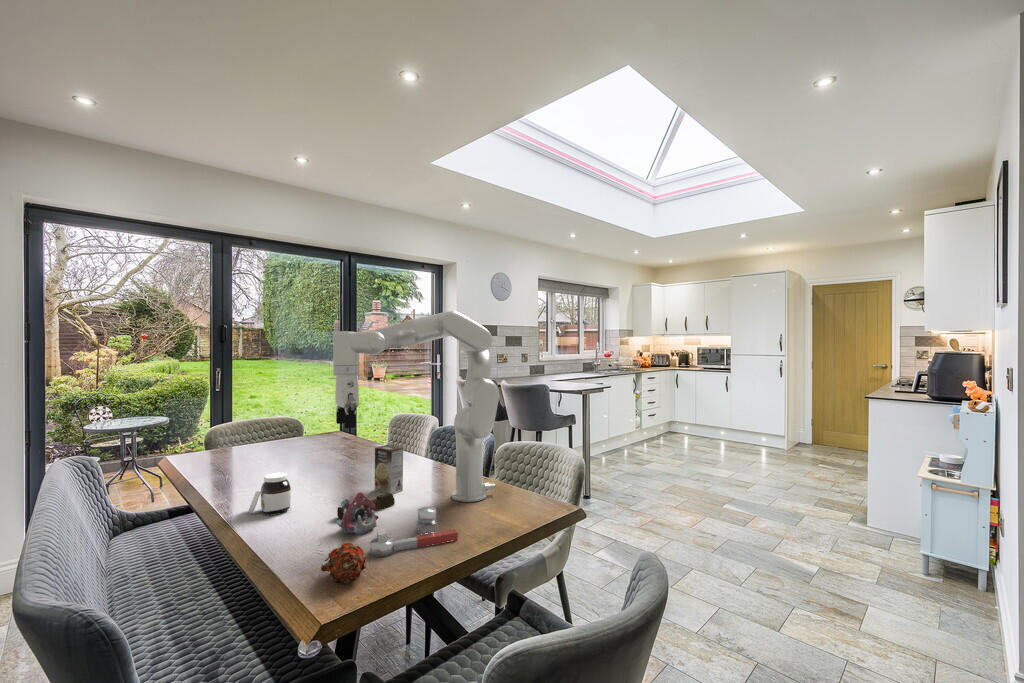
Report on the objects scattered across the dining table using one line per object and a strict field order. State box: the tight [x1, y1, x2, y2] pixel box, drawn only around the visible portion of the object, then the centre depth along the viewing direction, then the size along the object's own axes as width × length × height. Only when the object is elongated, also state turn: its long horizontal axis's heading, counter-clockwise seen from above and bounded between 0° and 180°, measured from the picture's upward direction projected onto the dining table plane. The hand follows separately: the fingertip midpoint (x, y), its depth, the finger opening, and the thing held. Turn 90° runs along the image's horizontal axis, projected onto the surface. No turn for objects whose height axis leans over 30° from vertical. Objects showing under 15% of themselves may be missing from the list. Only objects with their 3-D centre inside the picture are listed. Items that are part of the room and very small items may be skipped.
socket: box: [416, 506, 438, 535], centre depth 131 cm, size 5×5×6 cm
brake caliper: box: [335, 491, 380, 536], centre depth 132 cm, size 11×11×12 cm
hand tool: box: [336, 493, 396, 520], centre depth 145 cm, size 19×4×5 cm, turn 131°
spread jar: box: [247, 472, 292, 516], centre depth 146 cm, size 12×11×12 cm
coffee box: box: [374, 444, 404, 495], centre depth 168 cm, size 9×6×16 cm
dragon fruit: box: [320, 542, 367, 584], centre depth 104 cm, size 8×8×12 cm
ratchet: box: [369, 528, 459, 559], centre depth 121 cm, size 23×6×5 cm, turn 115°
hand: (345, 425), depth 141 cm, fingers open, 9 cm apart
